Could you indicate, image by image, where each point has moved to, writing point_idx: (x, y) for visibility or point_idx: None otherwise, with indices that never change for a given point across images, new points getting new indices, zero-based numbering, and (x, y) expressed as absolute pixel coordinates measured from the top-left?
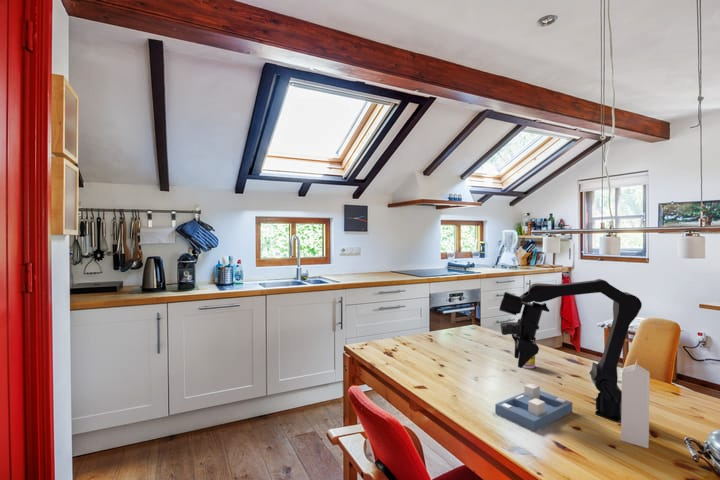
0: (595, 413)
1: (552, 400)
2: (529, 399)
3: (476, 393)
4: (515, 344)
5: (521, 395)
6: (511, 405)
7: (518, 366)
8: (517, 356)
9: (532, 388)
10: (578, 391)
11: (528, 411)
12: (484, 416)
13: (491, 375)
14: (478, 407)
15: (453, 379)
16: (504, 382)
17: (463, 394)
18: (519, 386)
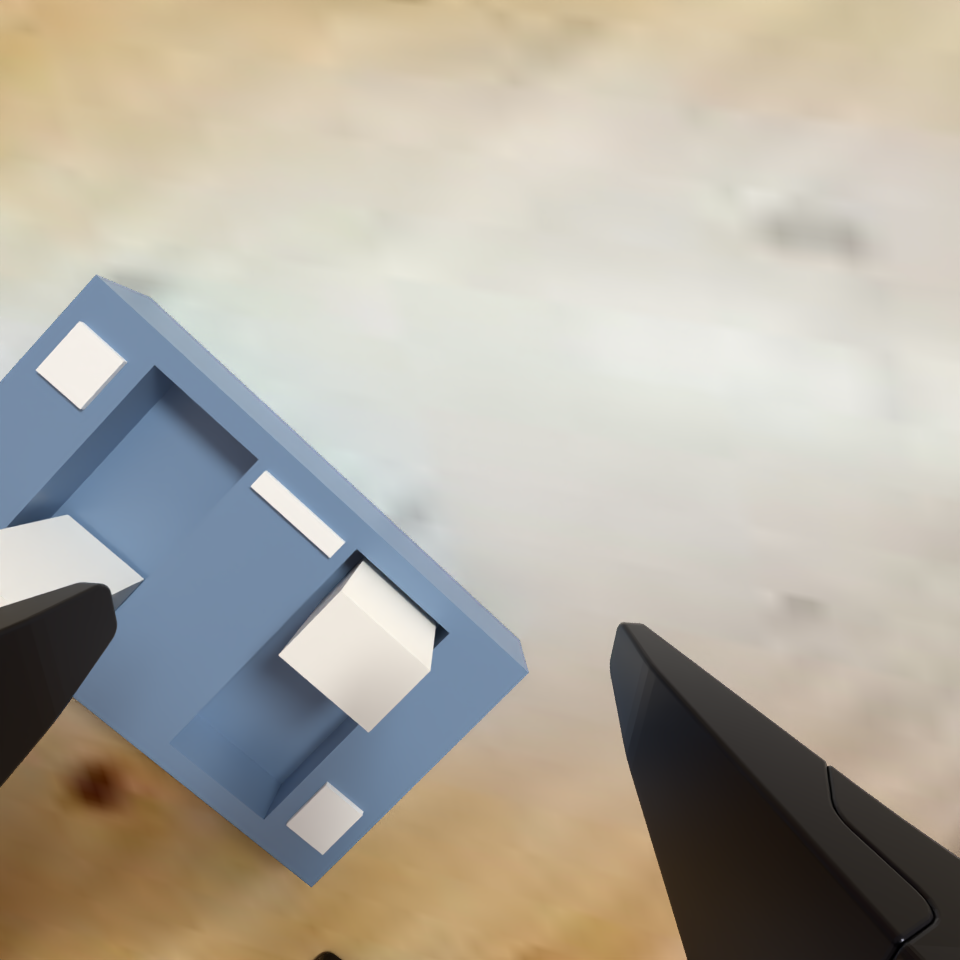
0: (326, 955)
1: (326, 755)
2: (277, 584)
3: (489, 196)
4: (840, 887)
5: (333, 535)
6: (110, 411)
7: (69, 592)
8: (623, 686)
9: (286, 651)
10: (680, 956)
11: (23, 525)
12: (74, 204)
13: (907, 386)
14: (220, 177)
15: (765, 11)
16: (765, 471)
17: (443, 75)
18: (700, 575)
